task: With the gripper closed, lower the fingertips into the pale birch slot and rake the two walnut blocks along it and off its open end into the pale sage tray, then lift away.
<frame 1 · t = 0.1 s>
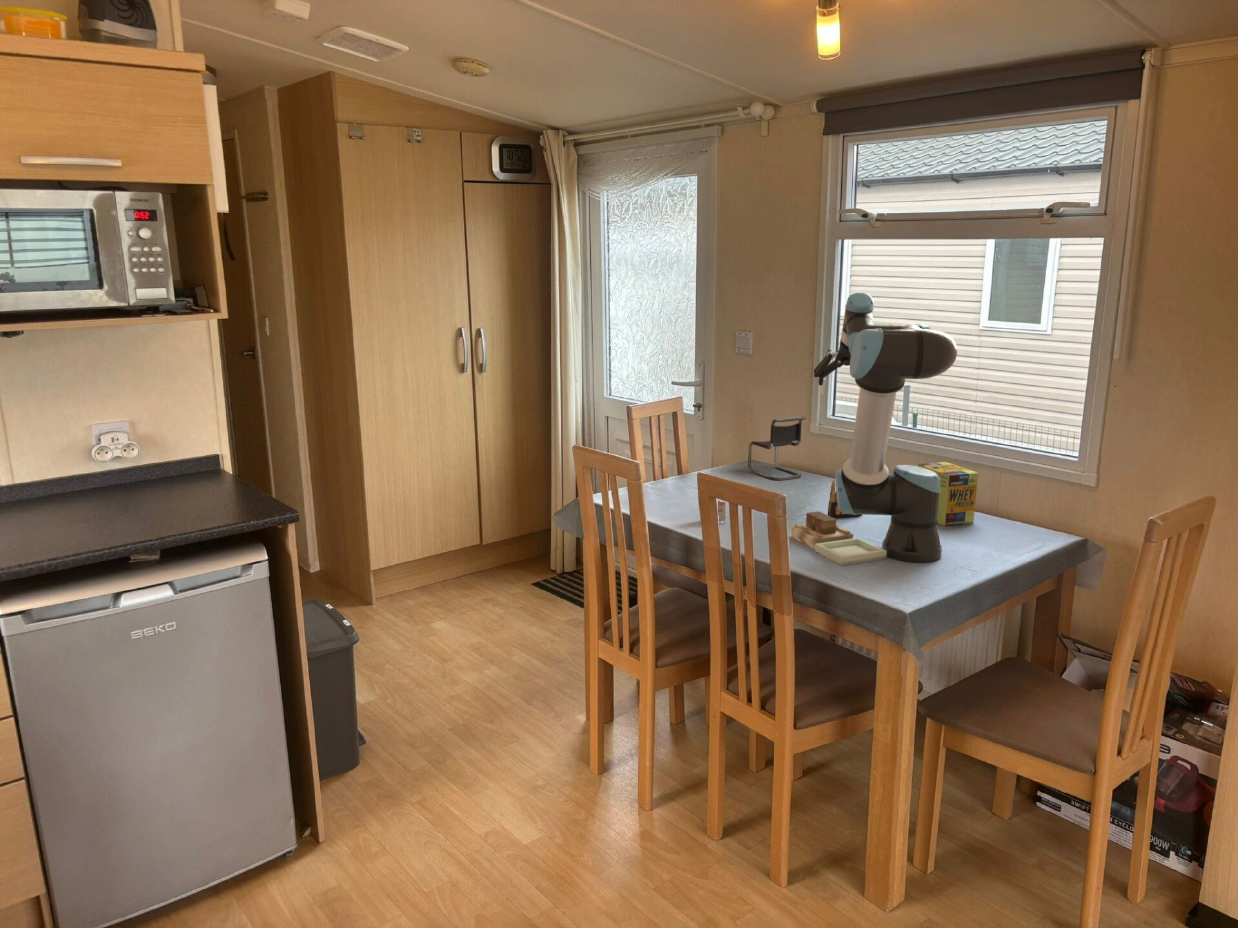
hand: (844, 391, 282), 36 cm above the table, tool tilted 35°, fingers open, 13 cm apart
ammunition clip: (844, 517, 275), on the table
walnut block front: (825, 532, 251), point 3 cm above the table, touching slot board
sage tray: (849, 555, 241), on the table
walnut block rear: (815, 527, 255), point 3 cm above the table, touching slot board
chair: (775, 474, 327), on the table
slot board: (821, 540, 253), on the table
tea bag: (712, 523, 270), on the table
protein box: (943, 518, 275), on the table
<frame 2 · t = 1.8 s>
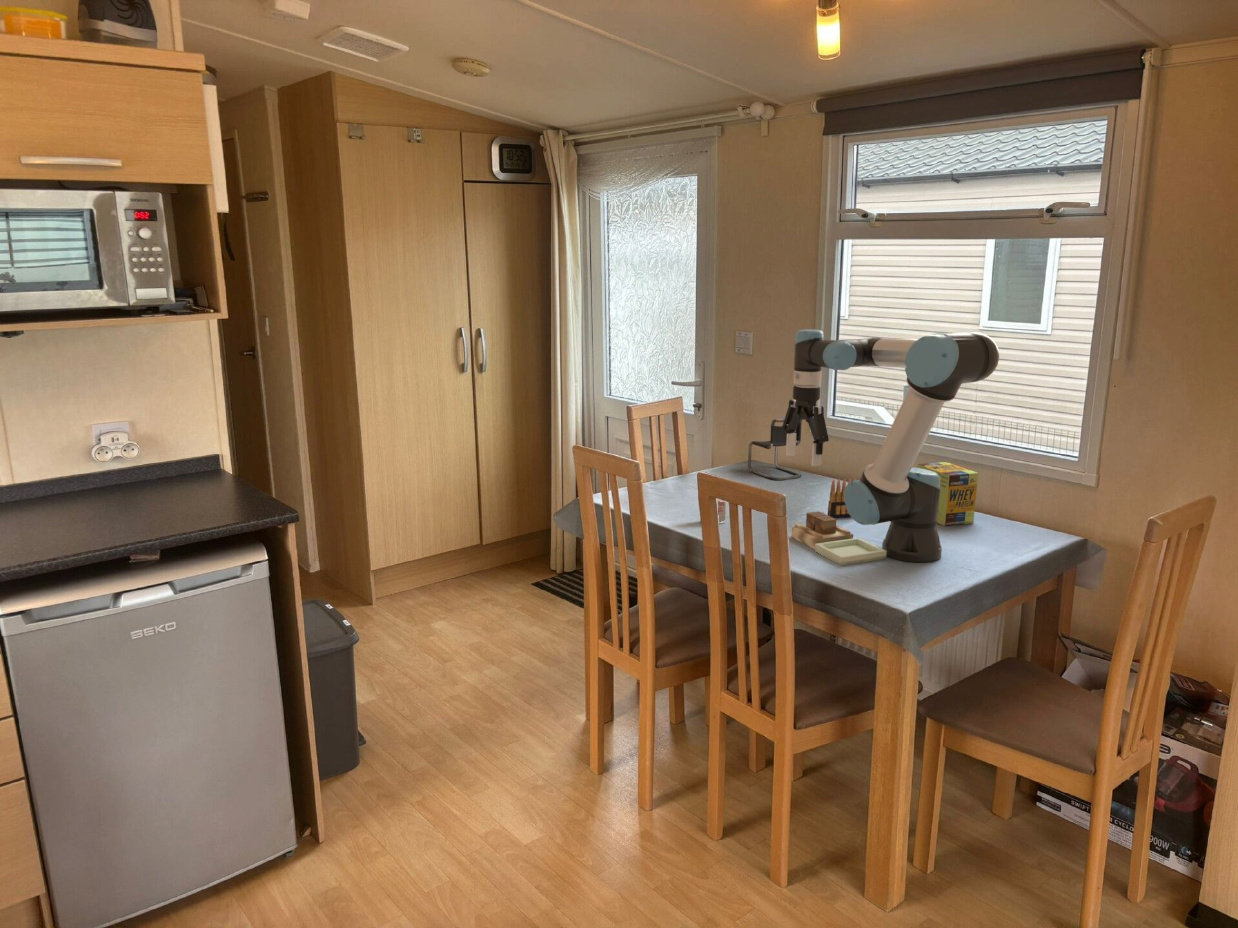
hand: (803, 460, 258), 21 cm above the table, tool pointing down, fingers open, 12 cm apart
nothing on the table moved.
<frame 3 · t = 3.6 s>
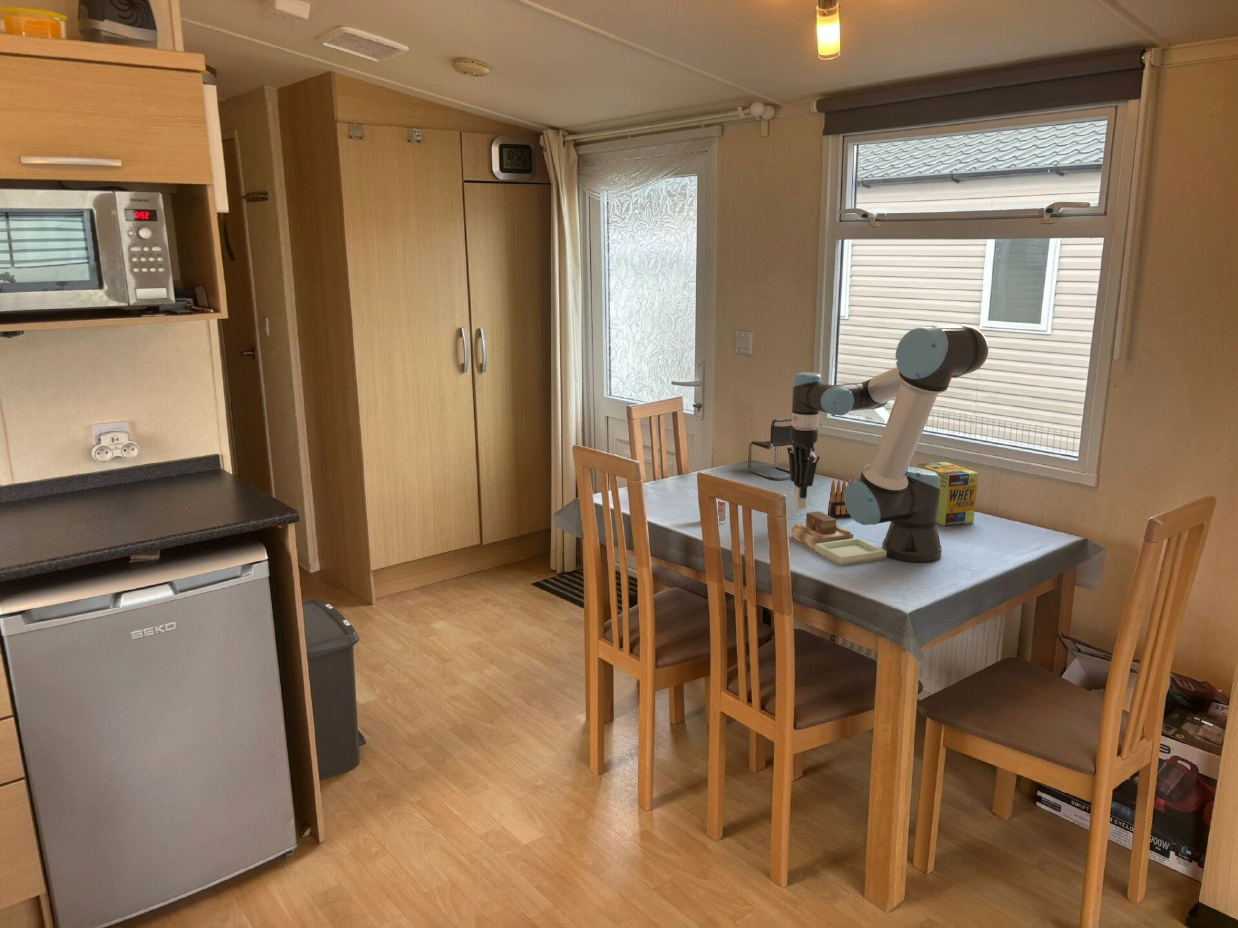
hand: (799, 507, 261), 7 cm above the table, tool pointing down, fingers closed
nothing on the table moved.
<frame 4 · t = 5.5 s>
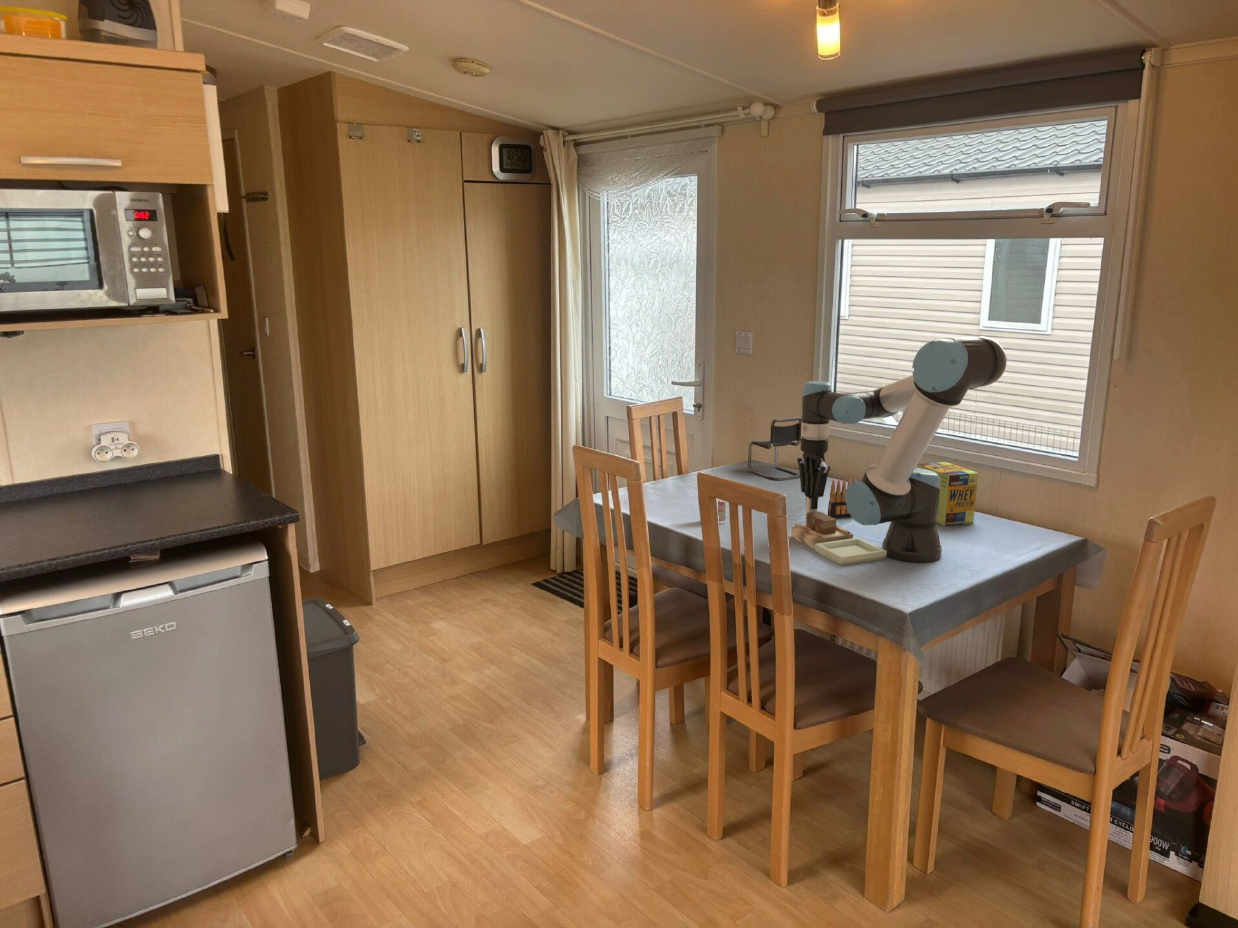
hand: (811, 519, 257), 5 cm above the table, tool pointing down, fingers closed
walnut block rear: (816, 527, 255), point 3 cm above the table, touching gripper, slot board
everything else where it was.
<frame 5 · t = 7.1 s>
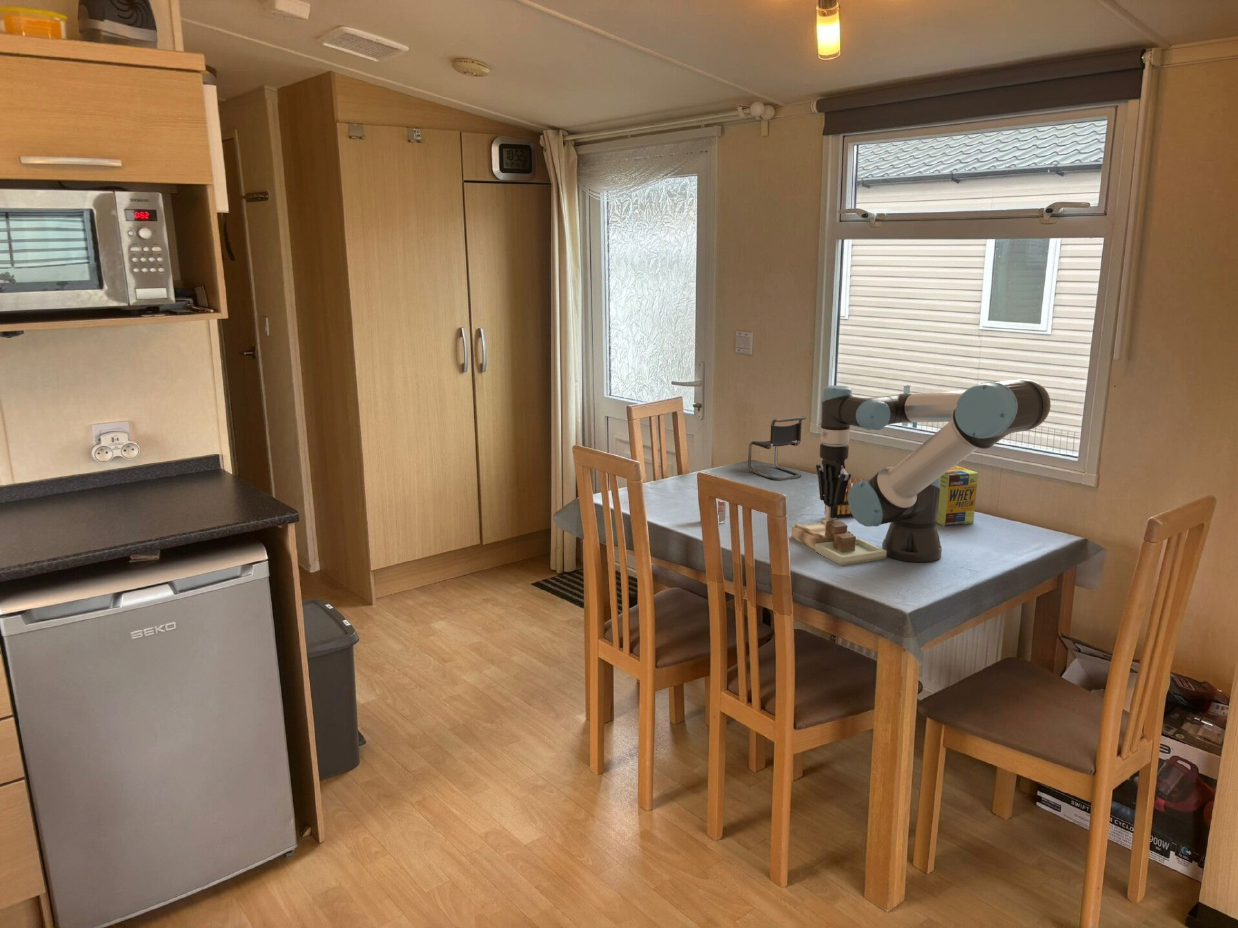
hand: (830, 528, 248), 5 cm above the table, tool pointing down, fingers closed
walnut block front: (840, 540, 244), point 3 cm above the table, tilted 90°, touching sage tray
walnut block rear: (835, 536, 247), point 3 cm above the table, tilted 7°, touching gripper
everything else where it was.
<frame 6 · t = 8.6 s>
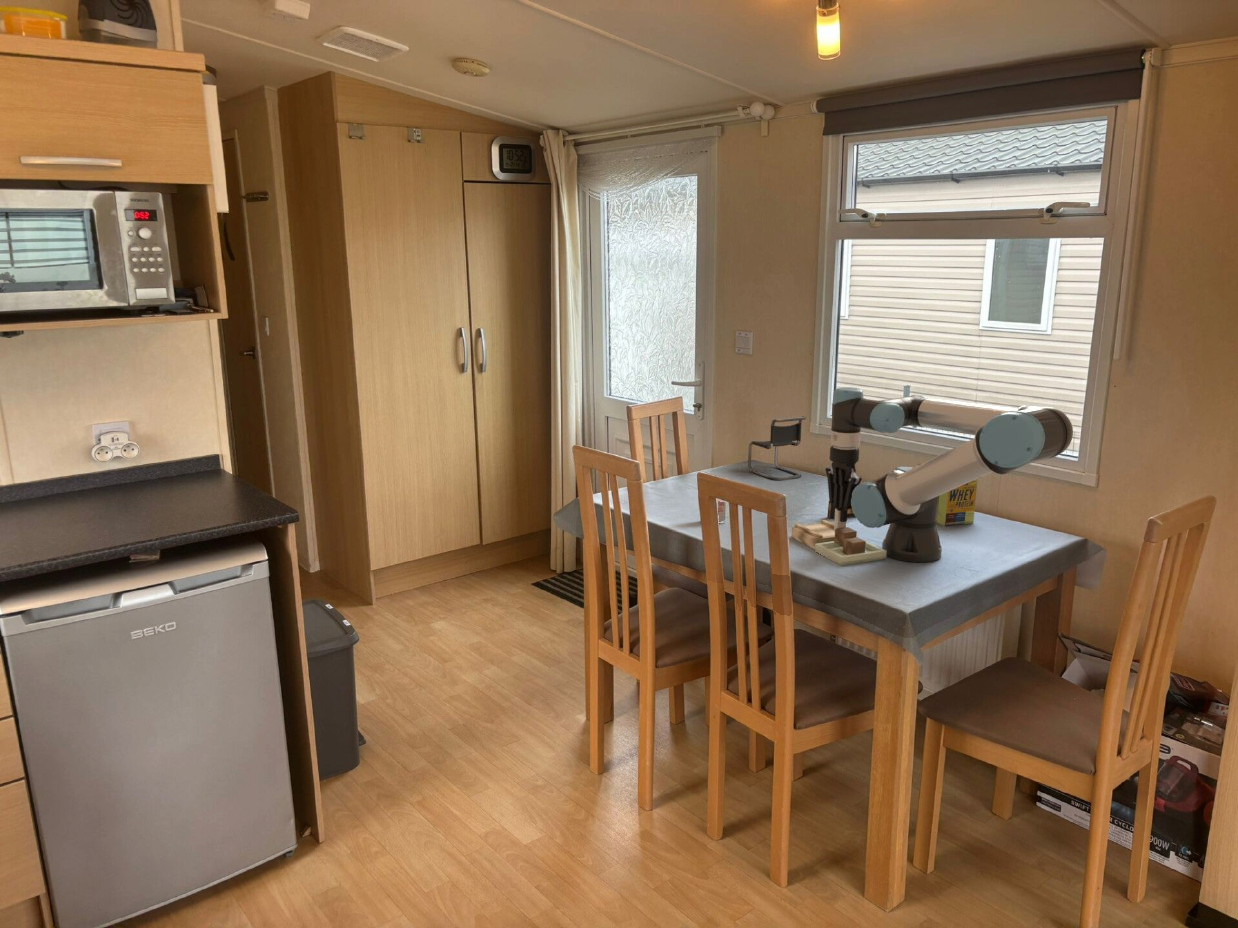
hand: (839, 532, 244), 5 cm above the table, tool pointing down, fingers closed
walnut block front: (849, 544, 241), point 3 cm above the table, tilted 90°, touching sage tray, walnut block rear
walnut block rear: (844, 544, 243), point 2 cm above the table, touching gripper, walnut block front
everything else where it was.
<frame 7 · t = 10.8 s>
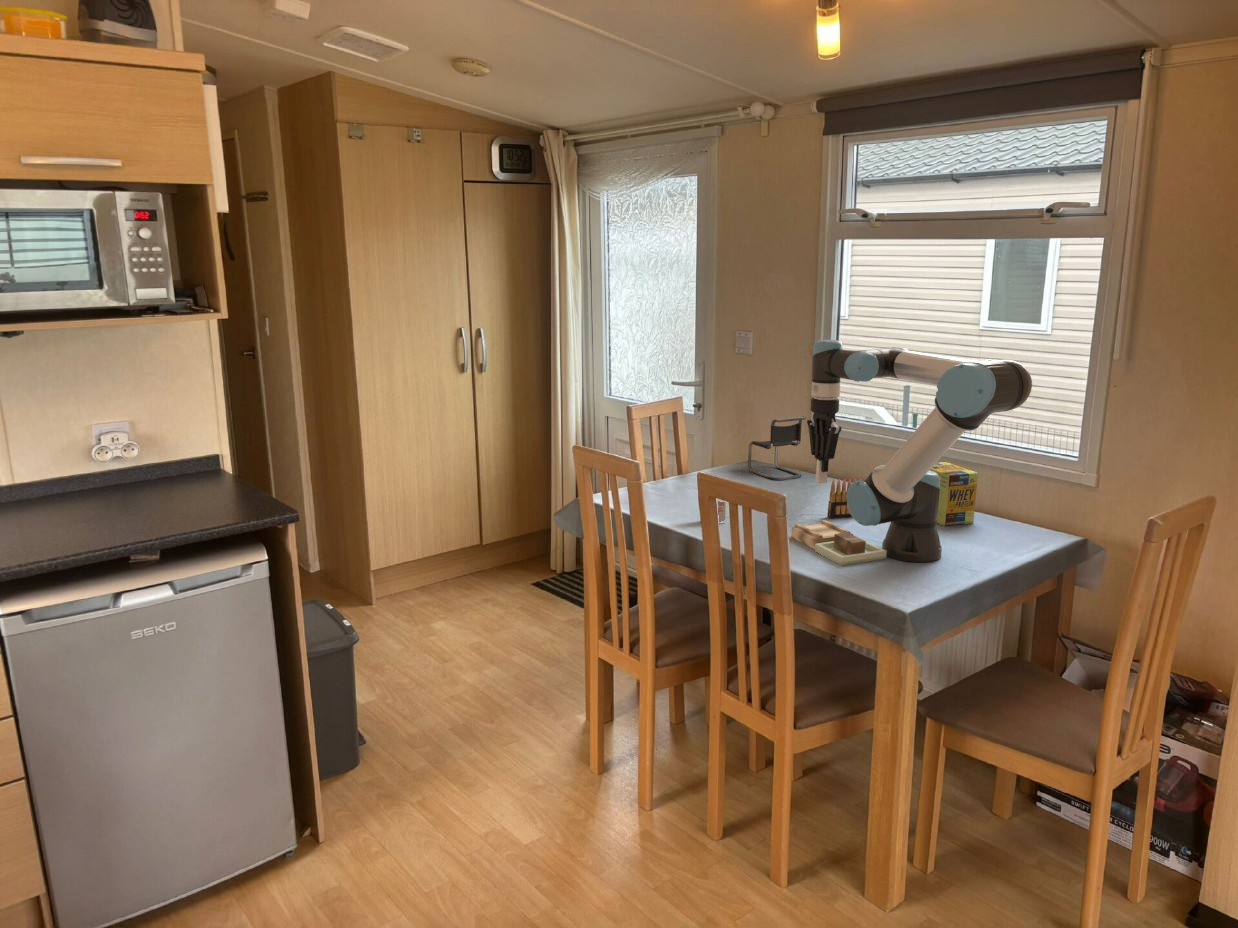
hand: (821, 482, 250), 16 cm above the table, tool pointing down, fingers closed
walnut block front: (849, 544, 241), point 3 cm above the table, tilted 90°, touching sage tray
walnut block rear: (844, 549, 243), point 1 cm above the table, touching sage tray
everything else where it was.
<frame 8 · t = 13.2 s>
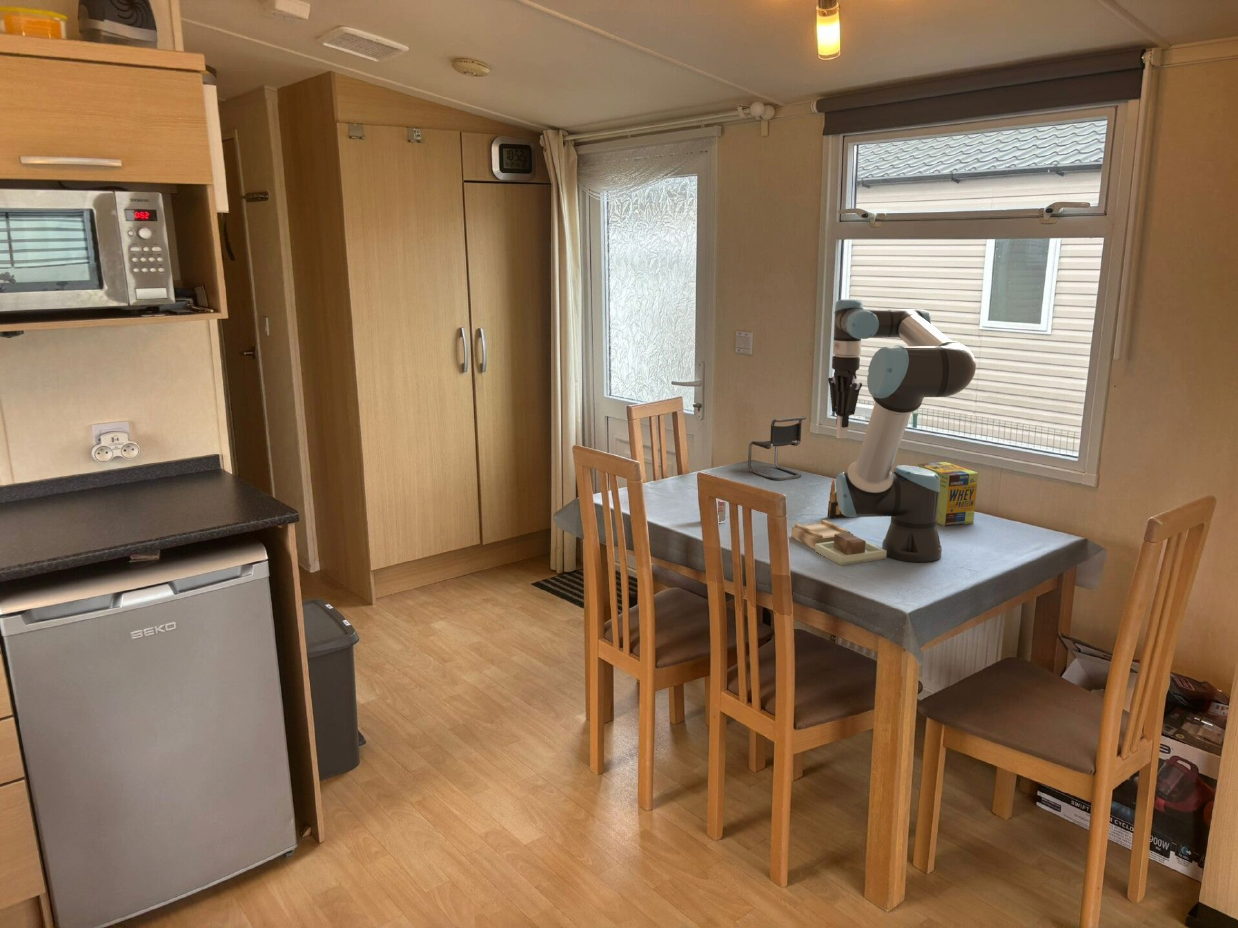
hand: (841, 437, 260), 26 cm above the table, tool pointing down, fingers closed
nothing on the table moved.
at the end: walnut block rear inside the target area (1.9 cm from its centre), point 0.8 cm above the table; walnut block front inside the target area (0.2 cm from its centre), point 2.8 cm above the table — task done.
